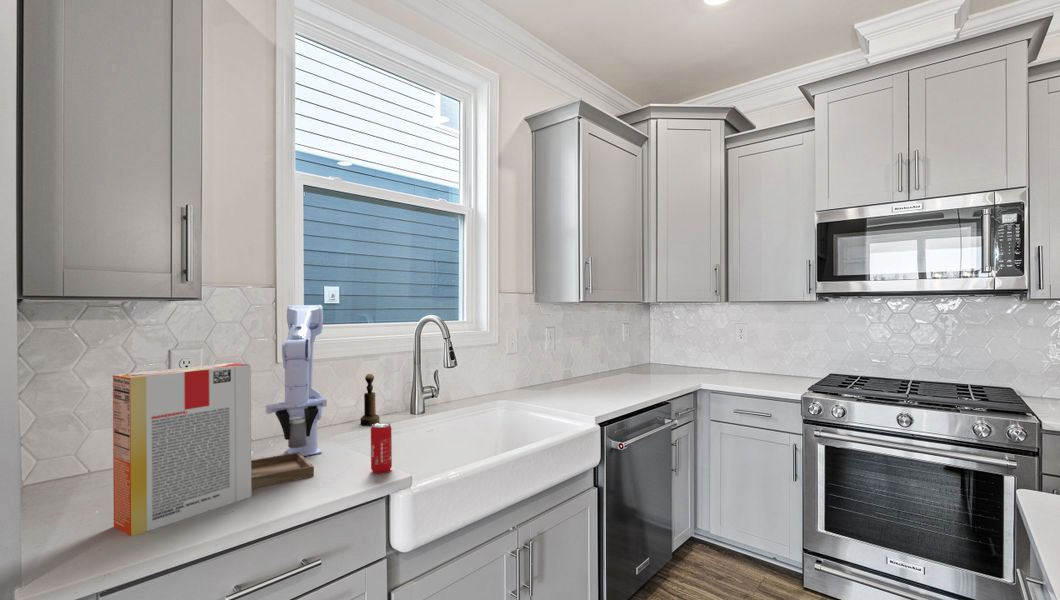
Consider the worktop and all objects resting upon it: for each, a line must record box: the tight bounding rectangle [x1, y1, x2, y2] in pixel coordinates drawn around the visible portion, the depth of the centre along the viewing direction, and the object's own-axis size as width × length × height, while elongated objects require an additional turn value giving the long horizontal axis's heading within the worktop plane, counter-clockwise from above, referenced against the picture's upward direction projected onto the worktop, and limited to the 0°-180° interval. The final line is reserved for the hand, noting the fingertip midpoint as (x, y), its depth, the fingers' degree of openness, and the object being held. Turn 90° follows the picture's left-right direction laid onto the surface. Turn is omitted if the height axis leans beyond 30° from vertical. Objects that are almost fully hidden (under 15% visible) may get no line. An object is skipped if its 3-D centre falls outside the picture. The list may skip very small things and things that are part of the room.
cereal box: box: [112, 362, 252, 537], centre depth 109 cm, size 23×8×30 cm, turn 148°
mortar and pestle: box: [360, 373, 381, 426], centre depth 186 cm, size 7×6×18 cm
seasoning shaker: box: [287, 417, 307, 448], centre depth 133 cm, size 4×4×7 cm
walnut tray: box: [251, 452, 315, 490], centre depth 131 cm, size 16×16×2 cm
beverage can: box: [370, 422, 393, 475], centre depth 133 cm, size 5×5×12 cm
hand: (297, 437), depth 133 cm, fingers closed on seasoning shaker, 4 cm apart
